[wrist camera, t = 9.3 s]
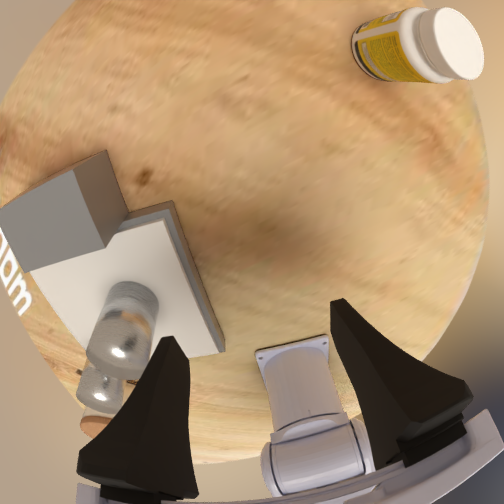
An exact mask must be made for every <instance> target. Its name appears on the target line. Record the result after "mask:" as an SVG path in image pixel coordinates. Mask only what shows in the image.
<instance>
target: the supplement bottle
mask: <svg viewBox="0 0 504 504" xmlns="http://www.w3.org/2000/svg"><path fill="white" fill-rule="evenodd" d="M352 50H353V54H354V57H355V59H356V61H357V62H358V64H359V65H360V67H361V68H362V69H363V70H364V71H365V72H366V73H367V74H369V75H370V76H372V77H374V78H376V79H379V80H382V81H402V82H424V83H436V84H442V83H447V82H450V81H452V80H453V79H456V80H460V79H461V80H473V79H476V78H477V77H478V76H479V75H480V74H481V72H482V70H483V65H484V53H483V48H482V44H481V41H480V39H479V36H478V34H477V32H476V31H475V29H474V27H473V26H472V24H471V23H470V22H469V21H468V19H467V18H465V17H464V16H463V15H462V14H461V13H459V12H458V11H456V10H454V9H451V8H447V7H446V8H445V7H444V8H436V9H430V10H429V9H427V8H422V7H412V8H408V9H405V10H402V11H399V12H395V13H392V14H389V15H386V16H383V17H380V18H378V19H375V20H372V21H370V22H367V23H364V24H362V25H361V26H359V27H358V28H357V29H356V31H355V32H354V34H353V38H352Z"/></svg>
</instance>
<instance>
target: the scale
mask: <svg viewBox="0 0 504 504" xmlns="http://www.w3.org/2000/svg"><path fill="white" fill-rule="evenodd" d="M0 227H1V229H2V231H3V233H4V236H5V238H6V240H7V242H8V244H9V246H10V248H11V249H12V251H13V253H14V255H15V257H16V259H17V261H18V262H19V264H20V266H21V268H22V269H23V271H24V273H27V272H30V273H31V275H32V277H33V278H34V280H35V282H36V283H37V285H38V287H39V288H40V290H41V291H42V293H43V294H44V296H45V297H46V299H47V300H48V302H49V303H50V305H51V306H52V308H53V309H54V311H55V312H56V313H57V315H58V316H59V317H60V319H61V320H62V322H63V323H64V324H65V326H66V327H67V328H68V329H69V331H70V332H71V333H72V335H73V336H74V337H75V338H76V340H77V341H78V342H79V343H80V345H81V346H82V347H83V348H84V349H85V351H86V349H87V346H88V343H89V340H90V338H91V335H92V332H93V329H94V327H95V324H96V322H97V319H98V317H99V314H100V312H101V309H102V307H103V304H104V302H105V300H106V297H107V295H108V292H109V290H110V288H111V287H112V286H113V285H114V284H116V283H118V282H122V281H133V282H137V283H140V284H142V285H144V286H146V287H147V288H149V289H150V290H151V291H152V292H153V293H154V294H155V296H156V297H157V299H158V302H159V312H158V317H157V322H156V327H155V332H154V337H153V343H152V349H151V354H150V358H151V356H152V354H153V352H154V350H155V348H156V347H157V345H158V343H159V341H160V339H161V337H166V336H174V337H175V339H176V341H177V342H178V344H179V346H180V347H181V349H182V350H183V352H184V353H185V355H186V357H187V358H192V357H199V356H206V355H212V354H218V353H219V352H225V339H224V337H223V334H222V332H221V330H220V327H219V325H218V322H217V320H216V317H215V315H214V313H213V310H212V308H211V305H210V303H209V300H208V298H207V295H206V292H205V290H204V287H203V285H202V282H201V280H200V277H199V274H198V272H197V269H196V266H195V264H194V261H193V258H192V255H191V253H190V250H189V247H188V244H187V242H186V239H185V236H184V233H183V230H182V227H181V225H180V222H179V219H178V216H177V213H176V210H175V207H174V204H173V201H168V202H165V203H161V204H158V205H154V206H151V207H147V208H144V209H140V210H137V211H134V212H130V213H129V212H128V210H127V207H126V204H125V202H124V199H123V197H122V194H121V191H120V188H119V186H118V183H117V180H116V177H115V174H114V171H113V169H112V166H111V163H110V160H109V156H108V153H107V150H105V151H102V152H100V153H97V154H95V155H93V156H90V157H88V158H86V159H84V160H82V161H79V162H77V163H75V164H73V165H71V166H69V167H67V168H65V169H63V170H61V171H59V172H57V173H55V174H53V175H51V176H49V177H47V178H45V179H43V180H41V181H40V182H38V183H36V184H34V185H32V186H31V187H29V188H28V189H26V190H25V191H23V192H22V193H20V194H19V195H18V196H16V197H15V198H13V199H12V200H11V201H9V202H8V203H7V204H5V205H4V206H3V207H1V208H0Z"/></svg>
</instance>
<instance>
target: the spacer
mask: <svg viewBox="0 0 504 504" xmlns="http://www.w3.org/2000/svg"><path fill="white" fill-rule="evenodd" d="M158 312H159V302H158V299H157V297H156V296H155V294H154V293H153V292H152V291H151V290H150V289H149V288H147V287H146V286H144V285H142V284H140V283H137V282H133V281H122V282H118V283H116V284H114V285H113V286H112V287H111V288H110V290H109V292H108V295H107V297H106V300H105V302H104V304H103V307H102V309H101V312H100V314H99V317H98V319H97V322H96V324H95V327H94V329H93V332H92V335H91V338H90V340H89V343H88V346H87V349H86V355H87V358H88V360H89V361H90V362H91V364H92V365H93V366H94V367H96V368H97V369H98V370H100V371H101V372H103V373H105V374H107V375H109V376H111V377H114V378H118V379H122V380H137V379H140V377H141V375H142V374H143V372H144V370H145V368H146V366H147V364H148V362H149V360H150V354H151V349H152V343H153V337H154V332H155V327H156V322H157V317H158Z"/></svg>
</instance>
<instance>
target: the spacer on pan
mask: <svg viewBox="0 0 504 504" xmlns="http://www.w3.org/2000/svg"><path fill="white" fill-rule="evenodd" d="M126 382H127V380H122V379H118V378H114V377H111V376H109V375H107V374H105V373H103V372H101V371H100V370H98V369H97V368H96V367H94V366H93V365H92V364H91V362H90V361H89V360H88V358H87V360H86V363H85V366H84V369H83V372H82V376H81V379H80V382H79V386H78V389H77V393H76V397H77V398H78V400H79V401H80V402H81V403H83V404H84V405H86V406H87V407H89V408H91V409H93V410H96V411H98V412H102V413H106V414H117V413H118V411H119V410H120V409H121V407H122V403H123V398H124V392H125V387H126Z"/></svg>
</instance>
